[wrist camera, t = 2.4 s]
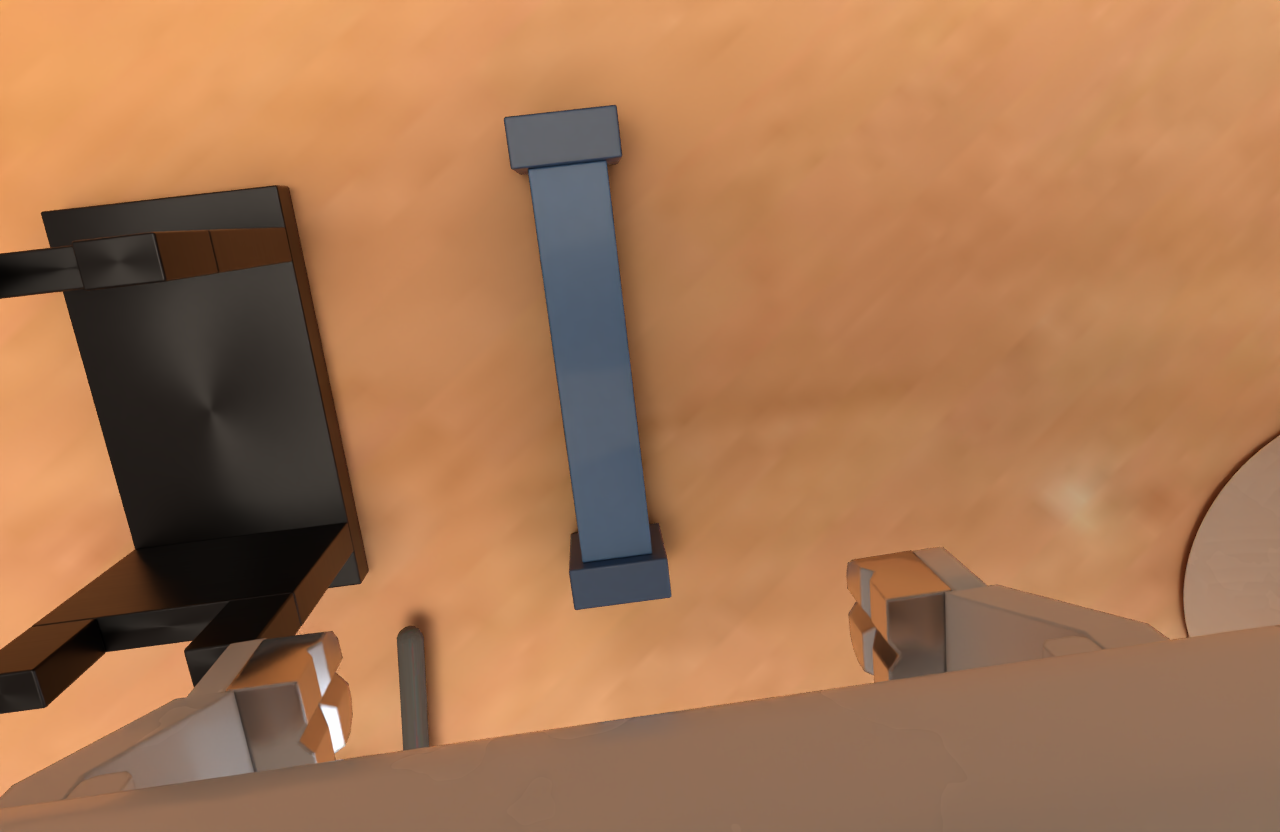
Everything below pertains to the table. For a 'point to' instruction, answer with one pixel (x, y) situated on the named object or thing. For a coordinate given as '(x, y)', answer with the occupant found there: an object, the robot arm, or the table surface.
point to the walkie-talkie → (413, 688)
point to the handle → (591, 351)
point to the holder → (194, 431)
